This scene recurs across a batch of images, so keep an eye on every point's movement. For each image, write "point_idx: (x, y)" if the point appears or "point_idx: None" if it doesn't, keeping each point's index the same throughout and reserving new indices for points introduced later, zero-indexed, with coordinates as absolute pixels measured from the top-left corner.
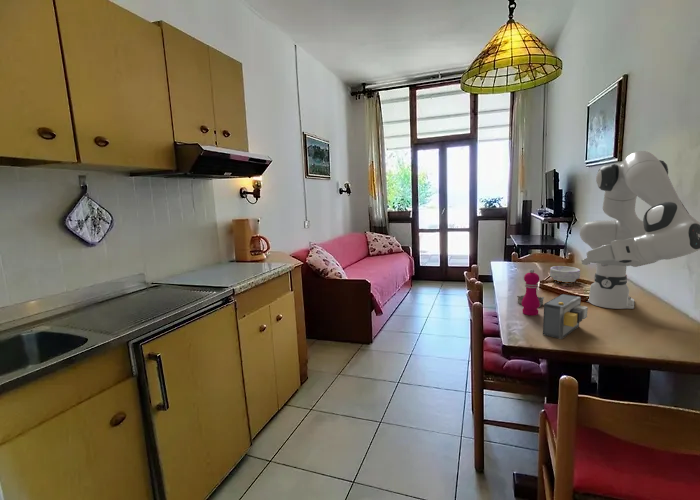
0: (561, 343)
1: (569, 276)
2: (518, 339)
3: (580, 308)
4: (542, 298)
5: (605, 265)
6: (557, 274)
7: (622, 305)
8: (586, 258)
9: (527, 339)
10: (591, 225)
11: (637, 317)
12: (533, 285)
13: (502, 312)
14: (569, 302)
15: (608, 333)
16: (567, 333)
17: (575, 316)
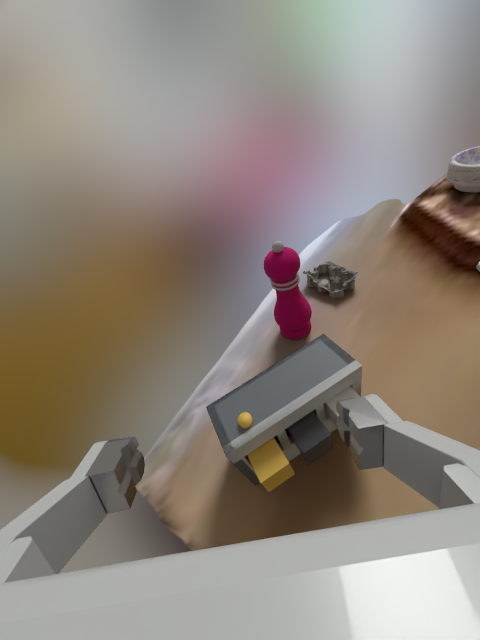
0: (235, 512)
1: None
2: (170, 455)
3: (336, 414)
4: (352, 277)
5: (358, 459)
6: (459, 175)
7: None
8: (58, 489)
9: (185, 461)
10: None
11: None
12: (280, 285)
13: (248, 321)
14: (284, 410)
15: None
16: (289, 460)
17: (274, 475)
